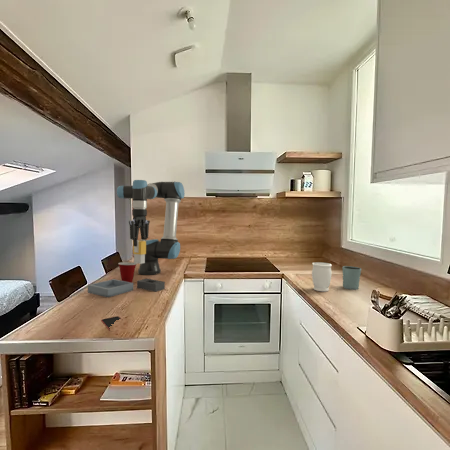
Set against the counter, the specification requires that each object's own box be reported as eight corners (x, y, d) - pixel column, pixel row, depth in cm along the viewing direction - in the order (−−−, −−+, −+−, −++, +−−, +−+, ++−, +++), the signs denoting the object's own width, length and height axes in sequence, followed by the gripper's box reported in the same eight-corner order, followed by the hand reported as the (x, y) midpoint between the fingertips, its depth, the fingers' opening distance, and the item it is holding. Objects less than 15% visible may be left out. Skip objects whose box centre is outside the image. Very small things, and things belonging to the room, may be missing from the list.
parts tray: (113, 285, 164) (113, 279, 164) (133, 290, 156) (133, 282, 156) (87, 292, 150) (87, 284, 150) (108, 297, 142) (108, 289, 142)
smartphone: (118, 315, 118) (130, 326, 106) (118, 317, 118) (130, 328, 106) (100, 319, 113) (110, 331, 102) (100, 320, 113) (110, 333, 102)
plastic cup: (140, 281, 176) (140, 261, 175) (128, 285, 166) (129, 264, 165) (126, 279, 180) (126, 260, 179) (113, 283, 170) (113, 263, 169)
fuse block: (146, 285, 167) (146, 278, 167) (164, 288, 160) (164, 281, 160) (137, 287, 161) (137, 280, 161) (155, 291, 154) (155, 284, 154)
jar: (318, 292, 158) (319, 265, 157) (307, 287, 168) (308, 262, 167) (334, 291, 161) (335, 265, 160) (323, 286, 171) (324, 261, 170)
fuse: (137, 261, 160) (138, 240, 160) (145, 263, 158) (146, 241, 157) (132, 262, 157) (133, 240, 157) (140, 263, 154) (141, 241, 154)
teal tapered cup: (338, 286, 173) (338, 266, 173) (351, 285, 177) (351, 265, 176) (350, 290, 164) (351, 269, 163) (364, 289, 167) (365, 268, 167)
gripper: (145, 209, 165) (145, 249, 166) (122, 208, 151) (122, 252, 152) (155, 209, 162) (155, 250, 163) (133, 208, 147) (132, 254, 148)
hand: (139, 251), depth 157 cm, fingers closed on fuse, 4 cm apart
